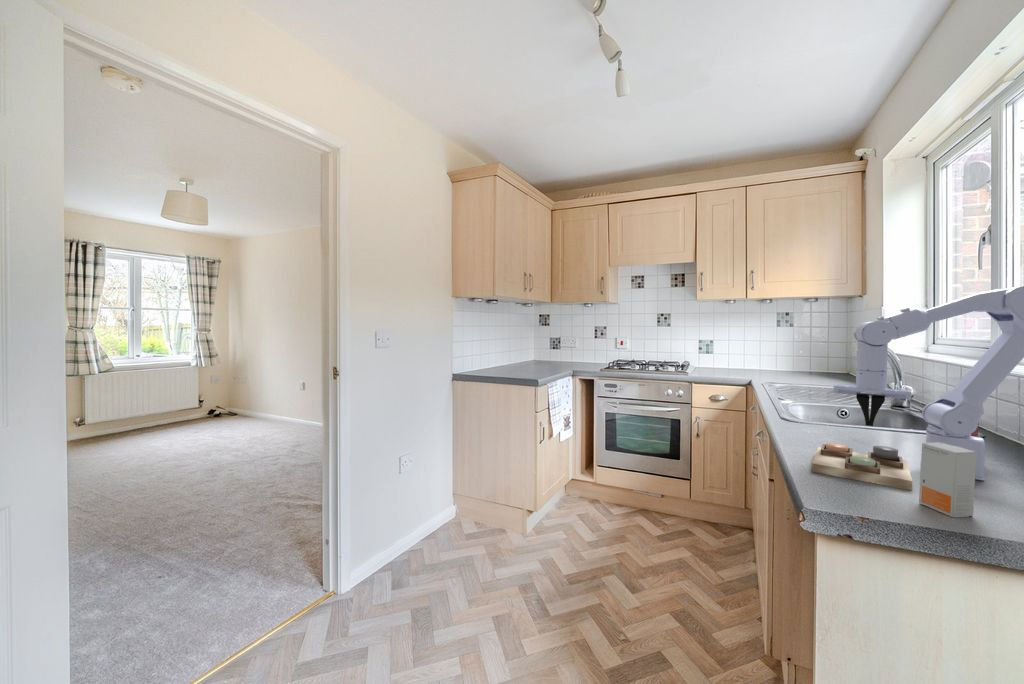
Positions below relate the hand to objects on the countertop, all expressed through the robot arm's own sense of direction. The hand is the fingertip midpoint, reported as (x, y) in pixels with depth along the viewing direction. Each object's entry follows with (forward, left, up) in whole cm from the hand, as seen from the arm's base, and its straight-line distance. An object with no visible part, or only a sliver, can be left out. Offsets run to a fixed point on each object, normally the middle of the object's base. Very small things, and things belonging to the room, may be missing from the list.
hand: (869, 425), depth 104 cm
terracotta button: (+6, +4, -7) cm, 10 cm away
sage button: (+1, +13, -7) cm, 15 cm away
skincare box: (-11, +25, -10) cm, 29 cm away
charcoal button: (-3, +5, -6) cm, 8 cm away
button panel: (+2, +8, -9) cm, 13 cm away
